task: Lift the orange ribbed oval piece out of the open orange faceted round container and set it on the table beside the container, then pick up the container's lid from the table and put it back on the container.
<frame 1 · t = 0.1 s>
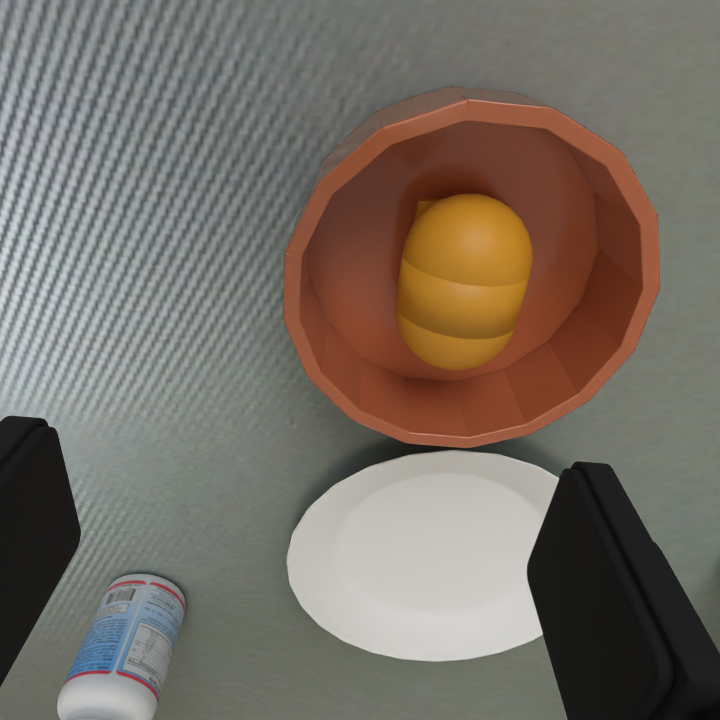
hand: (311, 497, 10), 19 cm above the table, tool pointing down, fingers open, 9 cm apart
orange faceted round container: (450, 257, 28), on the table
pill bottle: (149, 593, 42), on the table
orange ribbed oval piece: (451, 261, 27), resting on orange faceted round container
plate: (439, 542, 39), on the table
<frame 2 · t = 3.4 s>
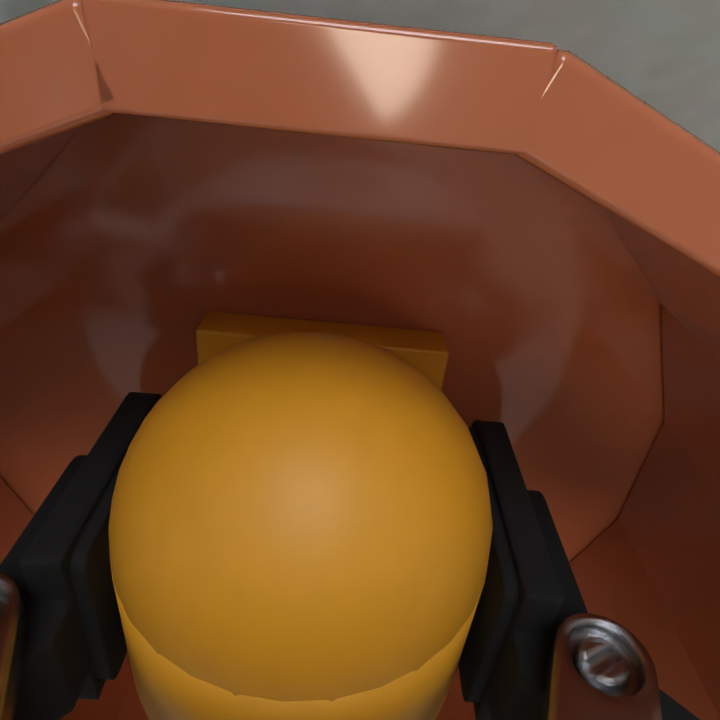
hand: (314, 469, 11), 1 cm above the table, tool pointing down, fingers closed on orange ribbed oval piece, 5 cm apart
orange faceted round container: (319, 431, 12), on the table
orange ribbed oval piece: (317, 445, 12), point 1 cm above the table, touching gripper, orange faceted round container
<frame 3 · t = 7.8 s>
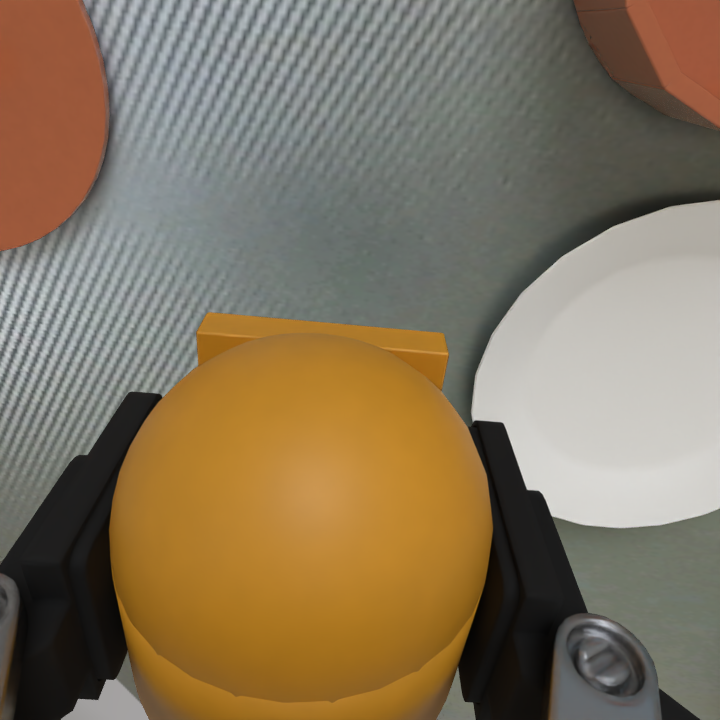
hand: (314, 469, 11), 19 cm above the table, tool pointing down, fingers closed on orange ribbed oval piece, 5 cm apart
orange ribbed oval piece: (317, 446, 12), point 18 cm above the table, touching gripper
plate: (646, 369, 32), on the table
when the fingers open (1 cm above the table, at t = 12.3 s): orange ribbed oval piece stays where it is, on the table.
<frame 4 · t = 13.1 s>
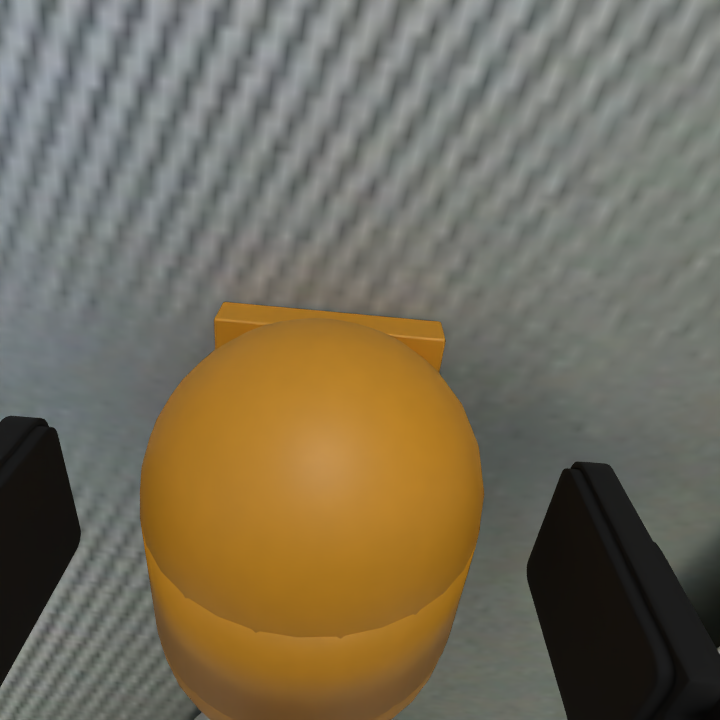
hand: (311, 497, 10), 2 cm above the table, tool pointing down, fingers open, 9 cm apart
orange ribbed oval piece: (323, 429, 13), on the table
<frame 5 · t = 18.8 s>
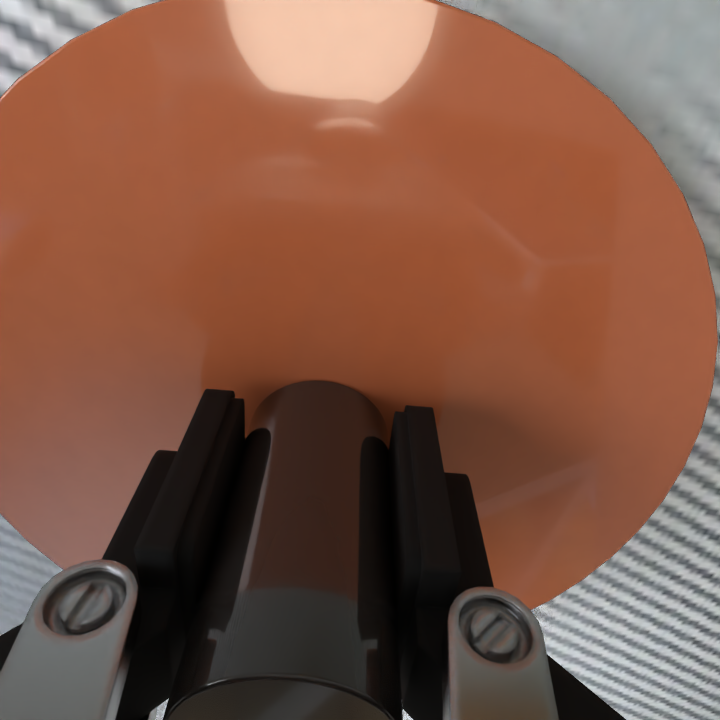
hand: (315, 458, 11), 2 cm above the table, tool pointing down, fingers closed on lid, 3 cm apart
lid: (320, 422, 12), point 1 cm above the table, touching gripper
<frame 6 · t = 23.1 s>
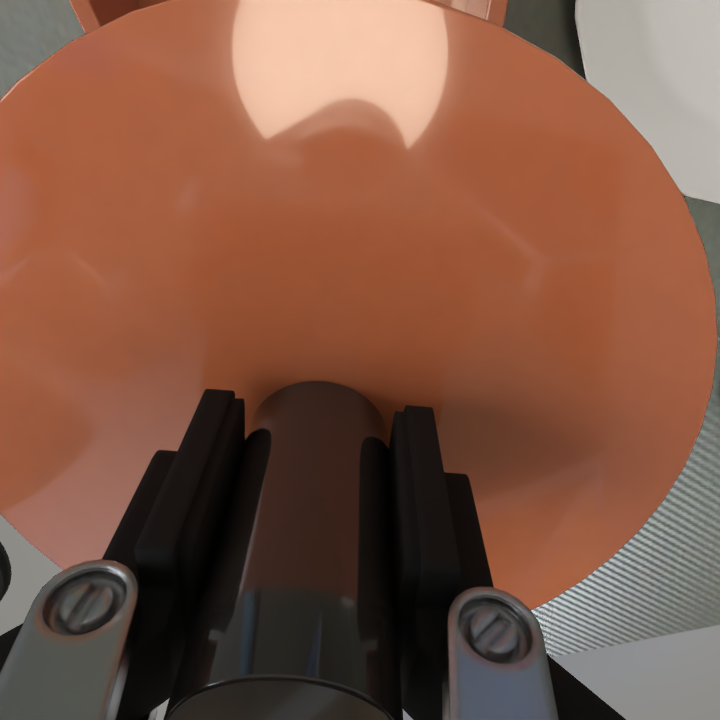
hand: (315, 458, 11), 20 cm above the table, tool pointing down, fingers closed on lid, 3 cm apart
lid: (320, 423, 12), point 18 cm above the table, touching gripper
when the fingers open (7 cm above the table, at t = 27.2 s): lid stays where it is, resting on orange faceted round container.
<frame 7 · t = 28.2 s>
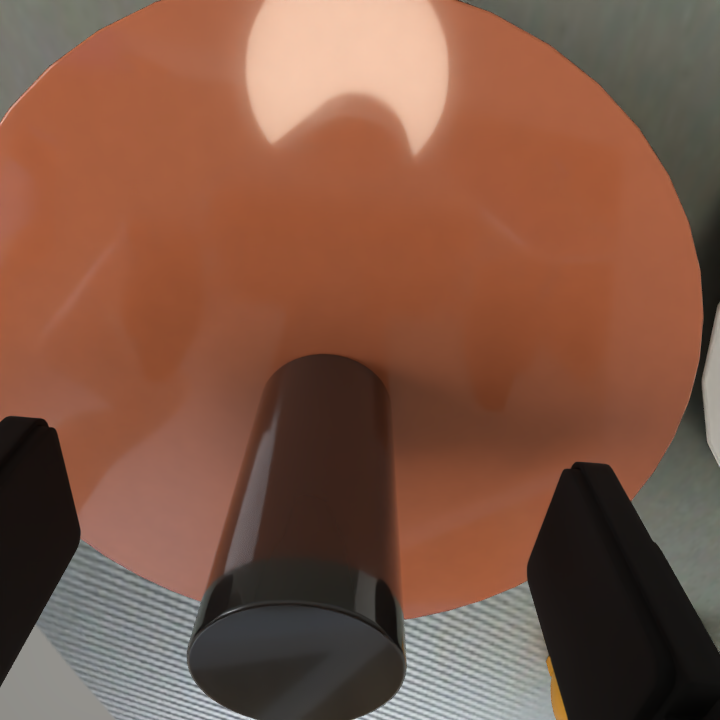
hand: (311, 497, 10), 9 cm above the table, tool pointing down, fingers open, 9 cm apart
lid: (327, 396, 13), point 5 cm above the table, touching orange faceted round container
orange ribbed oval piece: (617, 639, 27), on the table
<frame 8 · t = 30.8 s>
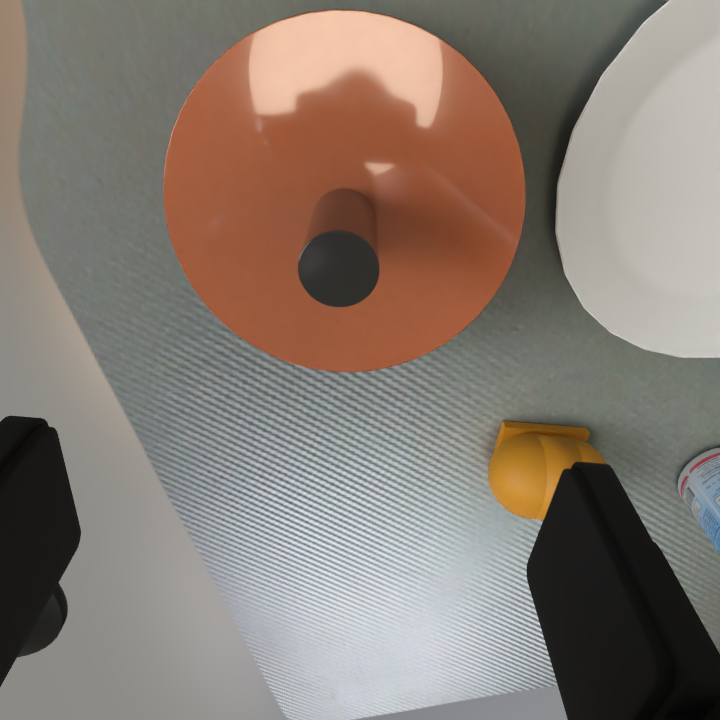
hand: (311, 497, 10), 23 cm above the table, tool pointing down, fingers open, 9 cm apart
lid: (344, 218, 26), point 5 cm above the table, touching orange faceted round container
pill bottle: (716, 471, 41), on the table
orange ribbed oval piece: (536, 448, 40), on the table
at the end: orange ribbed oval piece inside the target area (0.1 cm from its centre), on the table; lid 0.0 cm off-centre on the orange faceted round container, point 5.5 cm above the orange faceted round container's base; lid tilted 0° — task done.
